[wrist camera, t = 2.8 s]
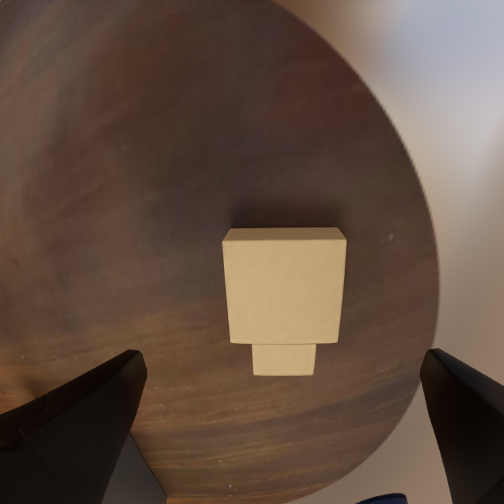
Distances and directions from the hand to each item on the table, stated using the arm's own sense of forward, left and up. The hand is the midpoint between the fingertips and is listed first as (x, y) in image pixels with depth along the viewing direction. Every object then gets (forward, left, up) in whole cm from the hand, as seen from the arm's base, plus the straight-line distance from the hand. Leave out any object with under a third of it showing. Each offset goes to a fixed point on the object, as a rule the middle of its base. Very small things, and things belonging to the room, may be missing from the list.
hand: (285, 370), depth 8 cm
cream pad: (0, +1, -7) cm, 7 cm away
